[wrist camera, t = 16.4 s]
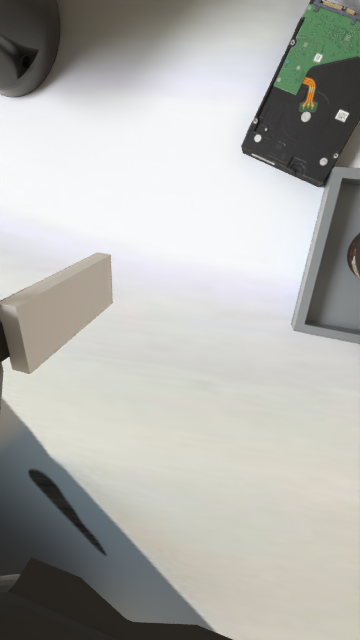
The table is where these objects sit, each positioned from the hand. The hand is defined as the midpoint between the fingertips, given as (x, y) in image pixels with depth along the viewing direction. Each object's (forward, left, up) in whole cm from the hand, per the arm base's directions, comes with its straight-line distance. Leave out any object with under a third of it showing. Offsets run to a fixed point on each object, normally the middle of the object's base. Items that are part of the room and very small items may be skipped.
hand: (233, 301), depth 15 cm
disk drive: (+3, +19, -27) cm, 33 cm away
